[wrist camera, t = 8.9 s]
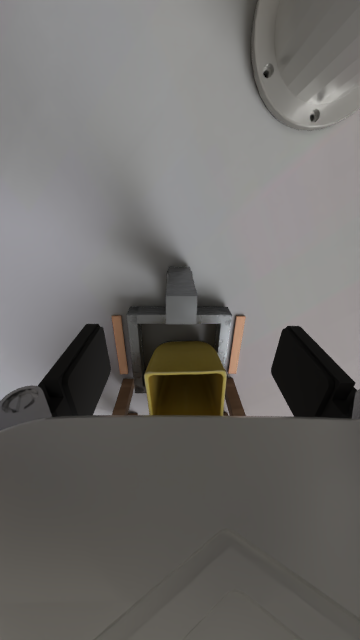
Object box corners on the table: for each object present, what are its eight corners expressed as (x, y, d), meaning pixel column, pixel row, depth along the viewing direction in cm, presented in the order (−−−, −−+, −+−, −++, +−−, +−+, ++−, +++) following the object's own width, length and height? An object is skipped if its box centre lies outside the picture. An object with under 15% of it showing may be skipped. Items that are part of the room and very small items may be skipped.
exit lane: (112, 315, 29) (111, 316, 29) (244, 315, 29) (245, 316, 29) (120, 372, 33) (120, 374, 33) (235, 372, 34) (235, 373, 33)
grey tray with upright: (126, 266, 26) (98, 295, 17) (232, 267, 26) (262, 296, 17) (138, 381, 34) (124, 443, 25) (218, 380, 34) (234, 441, 25)
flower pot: (156, 378, 34) (150, 429, 26) (151, 330, 30) (143, 373, 22) (211, 376, 34) (222, 426, 26) (213, 328, 30) (227, 370, 22)
